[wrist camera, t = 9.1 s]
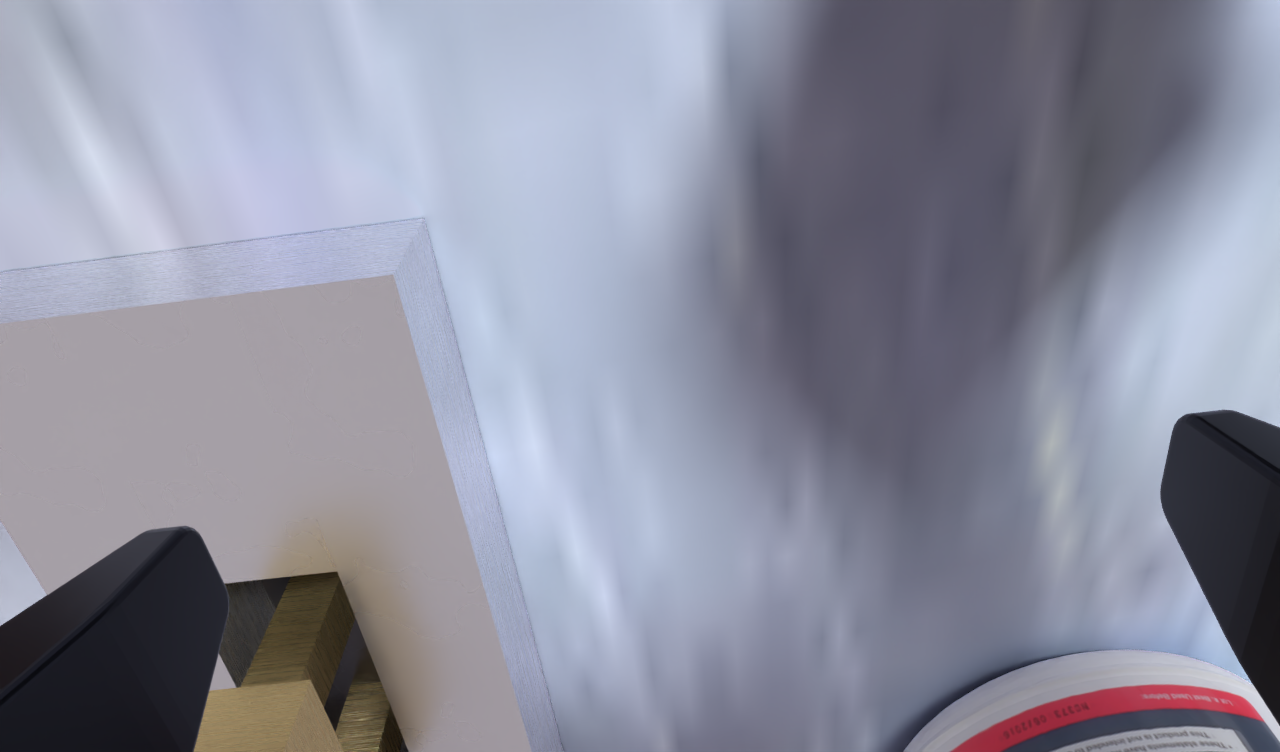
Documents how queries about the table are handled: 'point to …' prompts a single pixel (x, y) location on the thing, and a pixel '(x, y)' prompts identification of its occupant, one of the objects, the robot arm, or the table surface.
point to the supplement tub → (1107, 709)
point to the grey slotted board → (280, 458)
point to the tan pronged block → (300, 684)
